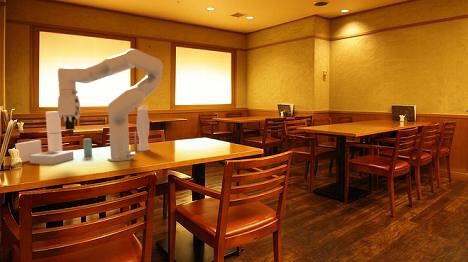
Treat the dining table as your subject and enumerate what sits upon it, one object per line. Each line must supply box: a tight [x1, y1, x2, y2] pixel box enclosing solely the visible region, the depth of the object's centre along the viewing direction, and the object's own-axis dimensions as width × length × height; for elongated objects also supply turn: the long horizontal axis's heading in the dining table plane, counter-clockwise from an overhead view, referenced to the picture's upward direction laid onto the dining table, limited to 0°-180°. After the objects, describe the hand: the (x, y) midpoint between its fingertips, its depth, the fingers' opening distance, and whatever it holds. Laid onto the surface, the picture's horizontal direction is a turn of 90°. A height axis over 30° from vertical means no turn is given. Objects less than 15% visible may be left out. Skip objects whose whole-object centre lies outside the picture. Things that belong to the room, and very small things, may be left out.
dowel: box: [83, 138, 93, 158], centre depth 178 cm, size 4×4×10 cm
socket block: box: [29, 150, 74, 165], centre depth 166 cm, size 14×14×4 cm
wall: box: [14, 139, 43, 163], centre depth 169 cm, size 2×14×10 cm, turn 168°
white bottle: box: [133, 104, 151, 153], centre depth 196 cm, size 8×8×28 cm
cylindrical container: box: [45, 110, 64, 151], centre depth 185 cm, size 7×7×25 cm
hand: (70, 129), depth 162 cm, fingers closed
